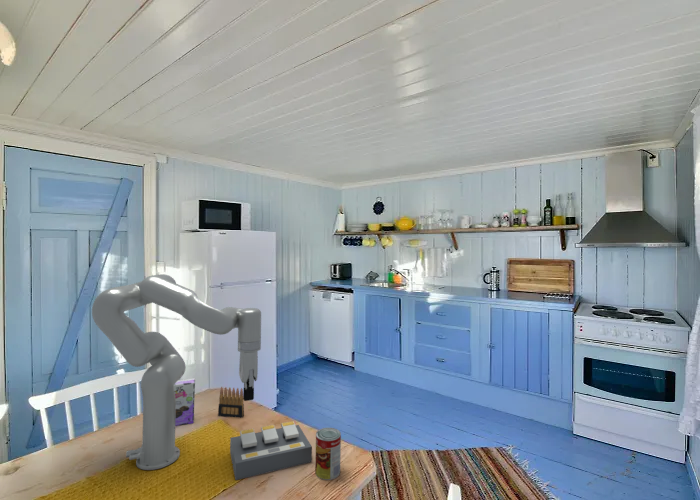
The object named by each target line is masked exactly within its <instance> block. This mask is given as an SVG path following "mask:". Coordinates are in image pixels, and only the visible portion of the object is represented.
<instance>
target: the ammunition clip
mask: <svg viewBox="0 0 700 500" xmlns="http://www.w3.org/2000/svg"><path fill="white" fill-rule="evenodd" d="M243 391H244V388H242V387H241V388H240V390H239V387H237V388H236V390H235V387H233V388H232V389H231V387H230V386H229V387H228V389H227V387H226V386H225V387H224V388H223V386H221V387H220V390H219V399H218V400H219V401H218V402H219V403H218V409H217V410H218V411H217V412H218V413H217V417H224V418H238V419H242V418H244V416H245V405H244V399H243Z"/></svg>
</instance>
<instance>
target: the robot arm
mask: <svg viewBox="0 0 700 500" xmlns="http://www.w3.org/2000/svg"><path fill="white" fill-rule="evenodd" d="M149 304H155V305H157V306H159V307H162V308H165V309H168V310H169V311H172V312H174V313H176V314H179V315H180V316H182V318H184V319H185V320H187V321H188V322H189V323H191V324H192V325H194V326H195V327H198V328H200V329H202V330H205V331H206V332H209V333H211V334H215V335H220V336H221V335H223V336H224V335H226V334H229V333H230V332H231V331H232V330H234V329H237V352H240V353H239V365H238V367H239V368H238V376H239V378H240V381H241V383H242V384H243V402H247V401H253V400H254V399H255V382H256V381H257V380H258V374H259V373H258V371H259V370H258V369H259V368H258V366H259V364H258V358H259V357H258V354H259V353H258V352H259V351H261V348H262V346H261V343H262V312H261V309H259V308H255V307H250V308H249V307H247V308H239V307H232V306H231V307H229V306H228V307H224V308H222V309H218V308H216V307H212V306H211V305H209V304H206V303H205V302H204V301H202V300H201V299H200V298H199V297H198V295H197V293H196V291H194V290H192V289H190V288H187V287H185V286H182V285H180V284H178V283H177V281H176V280H175V279H174V277H172V276H171V275H168V274H161V273H160V274H154V275H150V276H147V277H145V278H144V279H142V280H141V281H139V282H134V283H130V284H126V285H120V286H115V287H110V288H107V289H105V290H103V291H102V292H100V293H99V294H98V295H97V296H96V297H95V299H94V301H93V303H92V308H91V316H92V319H93V322H94V323H95V325H96V326H97V327H98V329H99V330H100V331H101V332H102V333H103V334H104V335H105V336H106V337H107V338H108V339H109V341H110V342H111V344H112V345H113V346H114V348H115V349H116V350H117V351H118V352H119V354H120V355H121V356H122V357H123V359H125V361H126V362H127V363H128V364H129V365H130V366H132V367H136V368H139V367H142V366H145V365H147V364H149V365H150V366H149V367H148V368H147V369H146V370H145V371H144V373H143V374H142V377H141V379H140V380H141V381H140V390H141V395H142V438H141V439H142V440H141V446H140V447H138V448H137V449H131V450H129V449H128V450H127V451H126V452H125V457H126V458H128V459H129V461H131V460H135V461H136V463H135V465H136V467H137V468H138V469H140V470H143V471H152V470H153V471H155V470H158V469H162V468H166V467H167V466H169V465H171V464H173V463H174V462H176V461H177V460H178V459H179V457H180V455H181V454H180V453H181V450H180V447H178V446H176V443H175V442H176V426H175V419H176V398H175V392H174V384H175V383H176V382H177V381H178V380H181V378H182V377H184V375H185V372H186V366H187V365H186V362H185V360H184V358H183V357H182V356H181V354H180V353H179V352H178V350H177V349H176V348H175V347H174V346H173V344H172V343H171V342H170V341H169V340H168V338H167V337H165V335H164V334H162V333H160V332H157V331H148V332H143V330H142V329H141V328H140V327H139V325H138V324H137V323H136V322H135V321H134V320H133V319H132V318H130V317H129V316H127V315H126V314H125V312H127V311H131V310H134V309H136V308H140V307H143V306H146V305H149Z"/></svg>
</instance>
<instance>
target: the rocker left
mask: <svg viewBox="0 0 700 500" xmlns="http://www.w3.org/2000/svg"><path fill="white" fill-rule="evenodd" d="M255 433H256V432H255V428H249V429H244V430H240V431H239V436H241V441H242V446H243V448H246V447H251V446H256V445H257V440H256V436H255Z"/></svg>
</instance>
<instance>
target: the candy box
mask: <svg viewBox="0 0 700 500" xmlns="http://www.w3.org/2000/svg"><path fill="white" fill-rule="evenodd" d="M174 392H175V398H176V419H175V427H176V426H185V425H189V424H194V423H195V422H194V421H195V401H196V400H195V396H196V395H195V393H196V378H194V377H193V378H187V379H179V380H178V381H177V382H176V383H175V384H174Z"/></svg>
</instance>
